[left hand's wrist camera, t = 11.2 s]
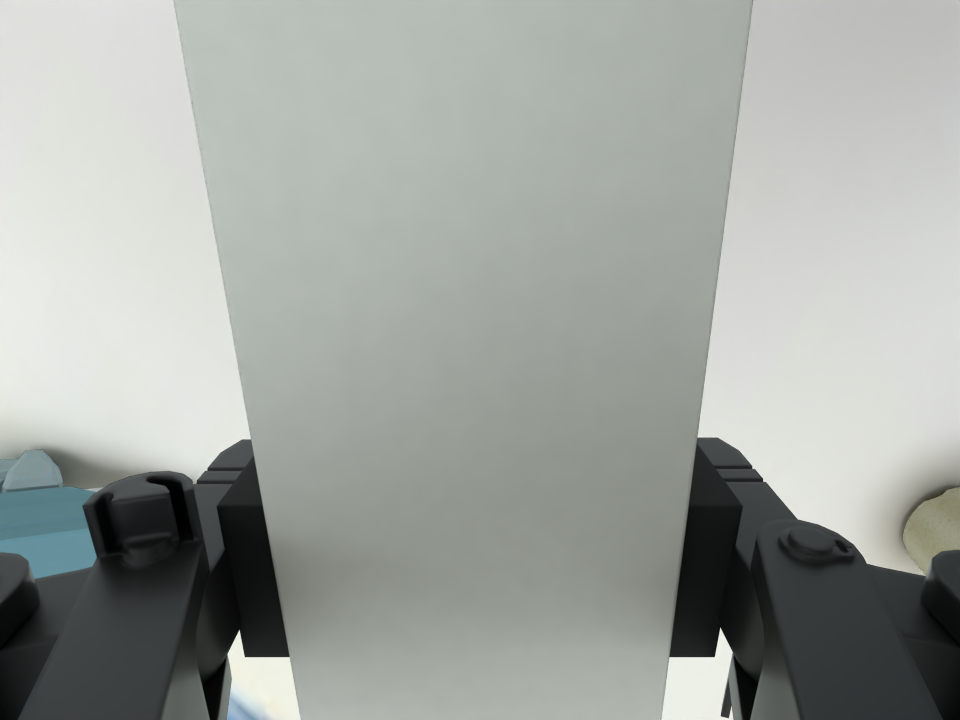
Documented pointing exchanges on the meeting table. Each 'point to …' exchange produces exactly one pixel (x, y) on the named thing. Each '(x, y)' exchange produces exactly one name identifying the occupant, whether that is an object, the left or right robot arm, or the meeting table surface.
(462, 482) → the bar
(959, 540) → the flower pot
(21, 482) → the toy gun
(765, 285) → the meeting table surface
